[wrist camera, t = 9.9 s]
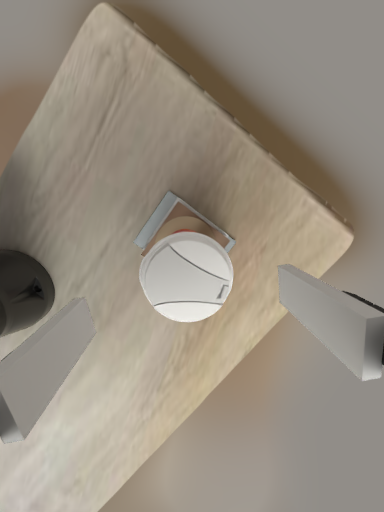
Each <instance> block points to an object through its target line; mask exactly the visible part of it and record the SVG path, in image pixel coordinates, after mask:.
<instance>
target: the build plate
mask: <svg viewBox="0 0 384 512" xmlns="http://www.w3.org/2000/svg"><path fill="white" fill-rule="evenodd" d="M178 201H179V202H180V203H181V204H183V205H184V206H185V207H187V208H188V209H189V210H191V211H192V212H193V213H195V214H196V215H197V216H199V217H200V218H201V219H203V220H204V221H205V222H207V223H208V224H209V225H211V226H212V227H213V228H215V229H216V230H217V231H219V232H220V233H221V234H223V235H224V236H225V237H226V238H228V239H229V240H230V242H229V243H228V245H227V246H226V247H225V248H224V250H225V251H226V253H228V252H229V251H230V249H231V248H232V247H233V246H234V244H235V243H236V241H235V240H233V239H232V238H231V237H229V235H228V234H226V233H225V232H224V231H222V230H221V229H220V228H218V227H217V226H216V225H214V224H213V223H212V222H210V221H209V220H208V219H207V218H205V217H204V216H203V215H201V214H200V213H199V212H197V211H196V210H195V209H193V208H192V207H191V206H189V205H188V204H187V203H185V202H184V201H183V200H182V199H180V198H179V197H177V196H175V195H174V194H173V193H171V192H170V191H168V192H167V194H166V195H165V197H164V198H163V199H162V201H161V202H160V204H159V205H158V207H157V208H156V210H155V211H154V213H153V214H152V216H151V217H150V219H149V220H148V221H147V223H146V224H145V226H144V227H143V229H142V230H141V232H140V233H139V235H138V236H137V238H136V239H135V241H134V242H133V243H135V244H136V245H138V246H139V247H141V248H142V249H143V250H145V248H146V247H147V245H148V244H149V242H150V241H151V240H152V238H153V237H154V235H155V234H156V232H157V231H158V230H159V228H160V227H161V225H162V224H163V222H164V221H165V220H166V218H167V217H168V215H169V214H170V212H171V211H172V210H173V208H174V207H175V205H176V204H177V202H178Z"/></svg>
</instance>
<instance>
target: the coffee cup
mask: <svg viewBox="0 0 384 512" xmlns="http://www.w3.org/2000/svg"><path fill="white" fill-rule="evenodd" d="M139 280H140V283H141V285H142V288H143V291H144V293H145V295H146V297H147V299H148V300H149V302H150V303H151V304H152V306H153V307H154V308H155V309H156V310H157V311H158V312H159V313H160V314H162V315H163V316H165V317H167V318H169V319H172V320H175V321H179V322H195V321H199V320H203V319H205V318H207V317H209V316H211V315H212V314H214V313H215V312H216V311H218V310H219V309H220V307H221V306H222V305H223V302H224V301H225V300H226V298H227V296H228V295H229V292H230V290H231V287H232V283H233V267H232V263H231V260H230V258H229V256H228V254H227V253H226V251H225V250H224V248H223V247H222V246H221V245H220V244H219V243H218V242H216V241H215V240H214V239H212V238H210V237H208V236H206V235H203V234H200V233H197V232H195V231H193V230H190V229H181V230H178V231H175V232H174V233H172V234H171V235H169V236H167V237H165V238H163V239H161V240H160V241H158V242H157V243H156V244H155V245H154V246H153V247H152V248H151V249H150V251H149V252H148V253H147V254H146V256H145V257H144V258H143V259H142V262H141V265H140V271H139Z"/></svg>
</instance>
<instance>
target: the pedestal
mask: <svg viewBox="0 0 384 512" xmlns="http://www.w3.org/2000/svg"><path fill="white" fill-rule="evenodd" d="M181 229H190V230H193V231H195V232H197V233H200V234H203V235H206V236H208V237H210V238H212V239H214V240H215V241H216V242H218V243H219V244H220V245H221V246H222V247H223V248H225V247H226V246H227V245H228V243H229V242H230V240H229V239H228V238H226V237H225V236H224V235H223V234H221V233H220V232H219V231H217V230H216V229H215V228H213V227H212V226H211V225H209V224H208V223H207V222H205V221H204V220H203V219H201V218H200V217H199V216H197V215H196V214H195V213H193V212H192V211H191V210H189V209H188V208H187V207H185V206H184V205H183V204H181V203H180V202H179V201H178V202H177V204H176V205H175V207H174V208H173V210H172V211H171V212H170V214H169V215H168V217H167V218H166V220H165V221H164V222H163V224H162V225H161V227H160V228H159V230H158V231H157V232H156V234H155V235H154V237H153V238H152V240H151V241H150V242H149V244H148V245H147V247H146V248H145V250H144V251H143V253H142V254H141V255H142V256H144V257H145V256H146V254H147V253H148V252H149V251H150V249H151V248H152V247H153V246H154V245H155V244H156V243H157V242H158V241H160V240H161V239H163V238H165V237H167V236H169V235H171V234H172V233H174V232H175V231H178V230H181Z"/></svg>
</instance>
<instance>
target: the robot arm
mask: <svg viewBox="0 0 384 512" xmlns="http://www.w3.org/2000/svg"><path fill="white" fill-rule="evenodd" d="M278 277H279V298H280V303H281V304H282V305H283V306H284V307H285V308H286V309H287V310H288V311H289V312H290V313H291V314H293V315H294V316H295V317H296V318H297V319H298V320H299V321H300V322H301V323H302V324H303V325H304V326H305V327H306V328H307V329H308V330H309V331H310V332H311V333H312V334H313V335H314V336H316V337H317V338H318V339H319V340H320V341H321V342H322V343H323V344H324V345H325V346H326V347H327V348H328V349H329V350H330V351H331V352H332V353H334V355H335V356H336V357H337V358H338V359H340V360H341V361H342V362H343V363H344V364H345V365H346V366H347V367H348V368H349V369H350V370H351V371H352V372H353V373H354V374H355V375H356V376H357V377H358V378H360V379H361V381H365V380H370V379H376V378H381V373H382V364H383V365H384V309H383V308H381V307H379V306H377V305H373V303H371V302H369V301H367V300H365V299H363V298H361V297H359V296H357V295H355V294H352V293H349V292H345V291H340V290H338V289H336V288H334V287H332V286H331V285H329V284H327V283H325V282H323V281H321V280H319V279H317V278H315V277H313V276H311V275H310V274H308V273H306V272H304V271H302V270H300V269H298V268H296V267H294V266H292V265H290V264H285V265H279V266H278ZM53 301H54V287H53V283H52V281H51V278H50V277H49V275H48V273H47V272H46V270H45V269H44V268H43V267H42V266H41V265H40V264H39V263H38V262H37V261H35V260H34V259H32V258H31V257H29V256H27V255H25V254H23V253H20V252H16V251H12V250H0V337H3V336H5V335H8V334H11V333H14V332H17V331H19V330H22V329H25V328H28V327H30V326H32V325H33V324H35V323H36V322H38V321H39V320H40V319H41V318H43V317H44V316H45V315H46V314H47V313H48V312H49V310H50V309H51V307H52V304H53ZM95 334H96V330H95V327H94V324H93V320H92V317H91V314H90V311H89V307H88V304H87V301H86V298H85V297H82V298H76V299H73V300H72V301H71V302H70V303H68V304H67V305H66V306H65V307H64V308H63V309H61V310H60V311H59V312H58V313H57V314H56V315H54V316H53V317H52V318H51V319H50V320H49V321H47V322H46V323H45V324H44V325H43V326H42V327H40V328H39V329H38V330H37V331H36V332H35V333H34V334H32V335H31V336H30V337H29V338H28V339H27V340H25V341H24V342H23V343H22V344H21V345H20V346H18V347H17V348H16V349H15V350H14V351H12V352H11V353H10V354H8V355H7V356H6V357H5V358H4V359H3V360H1V362H0V437H1V439H2V441H3V443H4V444H6V443H12V442H17V441H23V440H25V438H26V437H27V436H28V434H29V433H30V431H31V430H32V428H33V427H34V425H35V424H36V422H37V421H38V419H39V418H40V416H41V415H42V413H43V412H44V410H45V409H46V407H47V406H48V404H49V403H50V401H51V400H52V398H53V397H54V395H55V394H56V392H57V391H58V389H59V388H60V386H61V385H62V383H63V382H64V380H65V379H66V377H67V376H68V374H69V373H70V371H71V370H72V368H73V367H74V365H75V364H76V362H77V361H78V359H79V358H80V356H81V355H82V353H83V352H84V350H85V349H86V347H87V346H88V344H89V343H90V341H91V340H92V338H93V337H94V335H95Z"/></svg>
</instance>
